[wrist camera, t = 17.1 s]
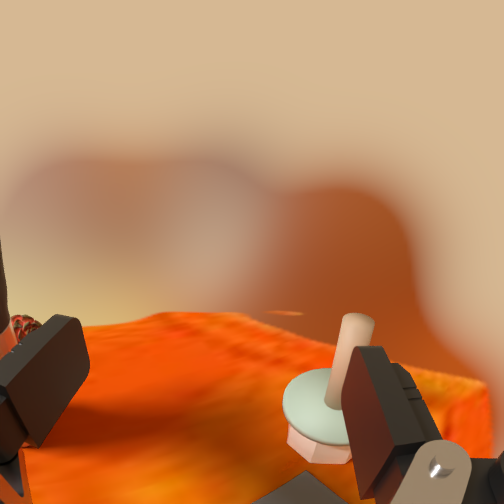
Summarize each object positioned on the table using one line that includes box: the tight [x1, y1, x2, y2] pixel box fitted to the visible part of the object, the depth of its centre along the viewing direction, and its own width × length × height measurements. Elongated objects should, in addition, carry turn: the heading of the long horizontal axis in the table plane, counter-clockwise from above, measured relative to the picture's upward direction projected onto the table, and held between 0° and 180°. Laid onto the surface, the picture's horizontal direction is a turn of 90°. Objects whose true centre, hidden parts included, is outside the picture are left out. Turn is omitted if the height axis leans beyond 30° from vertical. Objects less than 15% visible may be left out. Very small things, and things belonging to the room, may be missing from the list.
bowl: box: [287, 424, 352, 464], centre depth 38 cm, size 11×11×6 cm
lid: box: [282, 313, 375, 447], centre depth 35 cm, size 14×14×13 cm
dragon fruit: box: [11, 315, 42, 344], centre depth 47 cm, size 8×8×12 cm
